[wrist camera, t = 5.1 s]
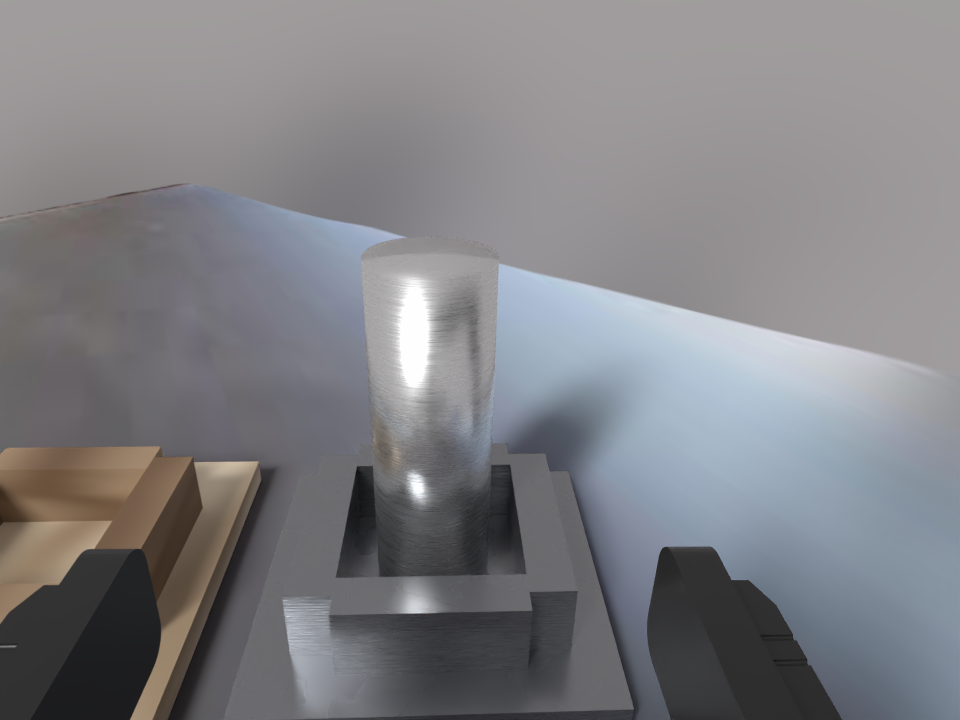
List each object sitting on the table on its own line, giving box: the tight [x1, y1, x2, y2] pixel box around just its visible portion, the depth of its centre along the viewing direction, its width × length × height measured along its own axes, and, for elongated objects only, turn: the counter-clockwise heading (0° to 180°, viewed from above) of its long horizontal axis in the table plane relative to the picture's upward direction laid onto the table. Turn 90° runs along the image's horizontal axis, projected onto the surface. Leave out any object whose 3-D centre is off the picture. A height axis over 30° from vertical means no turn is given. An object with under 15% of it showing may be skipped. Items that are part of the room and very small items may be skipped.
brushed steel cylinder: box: [361, 237, 499, 577], centre depth 23 cm, size 4×4×12 cm
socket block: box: [223, 444, 634, 720], centre depth 25 cm, size 12×12×4 cm
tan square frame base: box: [0, 447, 261, 720], centre depth 24 cm, size 12×14×4 cm
